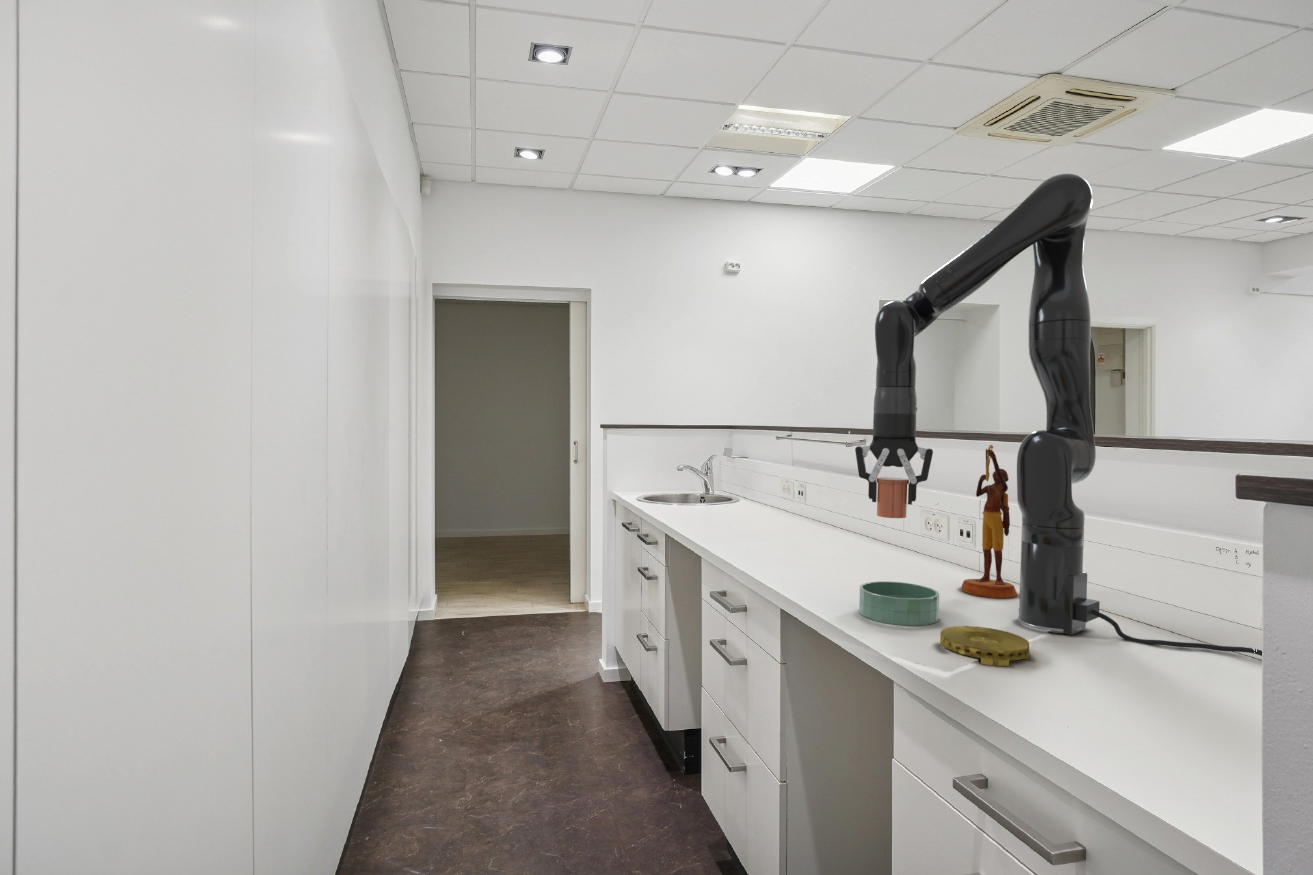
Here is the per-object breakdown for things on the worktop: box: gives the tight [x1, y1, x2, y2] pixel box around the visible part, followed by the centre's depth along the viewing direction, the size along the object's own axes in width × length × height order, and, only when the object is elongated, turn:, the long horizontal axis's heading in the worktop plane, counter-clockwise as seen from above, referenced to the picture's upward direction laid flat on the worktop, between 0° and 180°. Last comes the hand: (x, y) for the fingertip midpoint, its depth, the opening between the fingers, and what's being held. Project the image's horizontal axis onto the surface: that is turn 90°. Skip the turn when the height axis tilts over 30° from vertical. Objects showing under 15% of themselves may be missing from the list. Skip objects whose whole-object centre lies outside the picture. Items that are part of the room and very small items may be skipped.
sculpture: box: [960, 444, 1018, 599], centre depth 145 cm, size 10×10×30 cm
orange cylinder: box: [876, 476, 910, 519], centre depth 133 cm, size 6×6×7 cm
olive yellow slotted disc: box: [939, 625, 1030, 667], centre depth 107 cm, size 12×12×2 cm
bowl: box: [858, 580, 940, 627], centre depth 124 cm, size 13×13×5 cm
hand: (892, 502), depth 133 cm, fingers closed on orange cylinder, 5 cm apart
